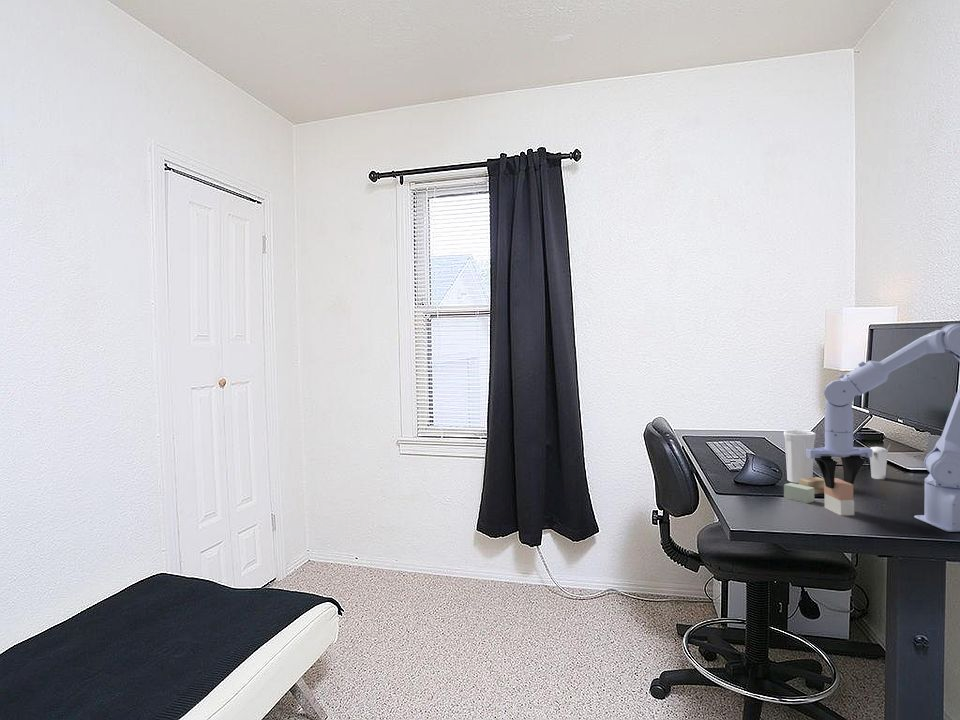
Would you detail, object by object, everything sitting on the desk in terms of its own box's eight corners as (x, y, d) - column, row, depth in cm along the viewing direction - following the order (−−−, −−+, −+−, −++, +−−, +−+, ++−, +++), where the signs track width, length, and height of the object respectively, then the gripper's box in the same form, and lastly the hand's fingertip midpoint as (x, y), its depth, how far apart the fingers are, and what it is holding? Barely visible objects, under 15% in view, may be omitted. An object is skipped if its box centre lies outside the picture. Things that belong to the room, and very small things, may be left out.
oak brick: (817, 490, 152) (817, 477, 151) (827, 493, 148) (827, 480, 148) (798, 492, 150) (798, 478, 150) (808, 495, 147) (808, 481, 147)
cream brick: (854, 515, 130) (854, 500, 130) (840, 515, 130) (840, 500, 130) (837, 507, 136) (837, 492, 136) (824, 507, 136) (824, 493, 136)
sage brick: (814, 501, 142) (814, 487, 142) (807, 503, 140) (807, 489, 140) (791, 496, 147) (791, 482, 147) (784, 498, 145) (783, 484, 145)
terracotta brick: (853, 499, 131) (853, 484, 130) (839, 500, 131) (839, 485, 130) (837, 492, 137) (837, 478, 136) (823, 492, 137) (823, 478, 136)
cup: (786, 485, 157) (786, 434, 156) (781, 477, 164) (780, 429, 164) (819, 486, 154) (819, 435, 154) (812, 479, 162) (812, 430, 161)
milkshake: (894, 480, 158) (894, 445, 158) (873, 480, 159) (873, 445, 159) (886, 476, 163) (886, 442, 162) (865, 475, 164) (865, 442, 163)
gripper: (858, 427, 136) (858, 481, 137) (798, 428, 137) (799, 483, 137) (878, 432, 129) (878, 489, 130) (815, 433, 130) (815, 491, 130)
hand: (839, 487), depth 133 cm, fingers open, 4 cm apart
